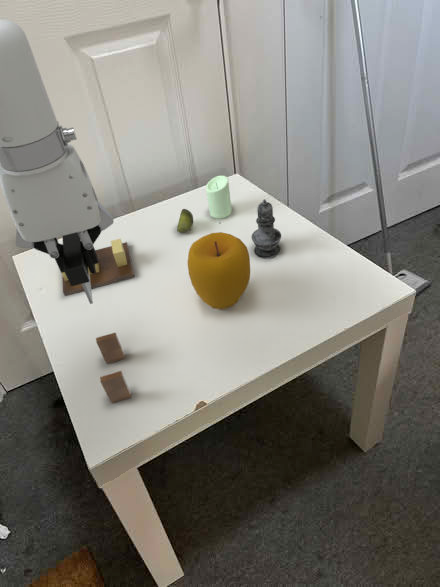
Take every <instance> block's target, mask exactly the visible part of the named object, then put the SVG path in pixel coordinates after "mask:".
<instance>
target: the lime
mask: <svg viewBox="0 0 440 587" xmlns="http://www.w3.org/2000/svg"><path fill="white" fill-rule="evenodd" d="M193 226H194V215H193V214H192V212H191V211H190V210H188V209H187V208H182V210H181V212H180V215H179V219H178V223H177V226H176V232H177V233H186V232H189V231H190V230H191V229H192V227H193Z"/></svg>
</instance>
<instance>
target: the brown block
mask: <svg viewBox="0 0 440 587" xmlns="http://www.w3.org/2000/svg"><path fill="white" fill-rule="evenodd" d="M95 342H96V344H97V347H98V349H99V351H100V354H101V355H102V357H103V360H104V362H105V364H107V365H108V364H110V363H114V362H118V361H121V360H125V359H126V355H125V352H124V350H123V347H122V344H121V342H120V340H119V337H118V335H117V333H116V332H112V333H109V334H108V333H107V334H105V335H101V336H98V337H95ZM99 380H100V381H99V382H100V384H101V386H102V388H103V390H104V392H105V394H106V396H107V398H108V400H109V402H110V404H113V403H116V402H120V401H124V400H126V399H130V398H132V392H131V389H130V386H129V385H128V383H127V380H126V378H125V375H124V374H123V371H122V370H119V371H115V372H112V373H108V374H105V375H102V376H99Z"/></svg>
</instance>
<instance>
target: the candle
mask: <svg viewBox="0 0 440 587" xmlns="http://www.w3.org/2000/svg"><path fill="white" fill-rule="evenodd" d="M205 191H206V197H207V202H208V210H209V215H210V216H211V217H212V218H214V219H225V218H227V217H229V216H230V215H231V214H232V210H233V209H232V200H231V193H230V183H229V178H228V177H227V176H226V175H217V176H214V177H213V178H211V179H210V180H209V181H208V182H207V183H206V186H205Z"/></svg>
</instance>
